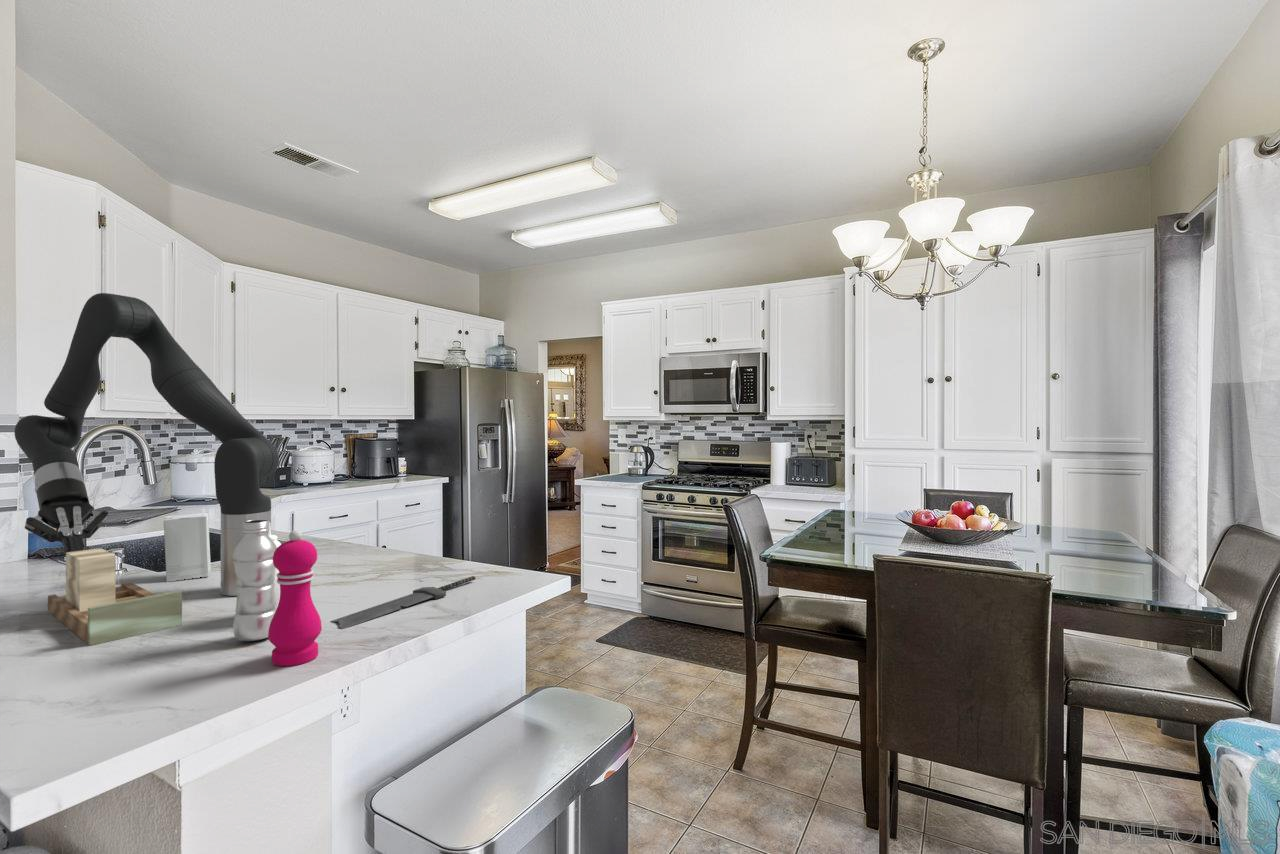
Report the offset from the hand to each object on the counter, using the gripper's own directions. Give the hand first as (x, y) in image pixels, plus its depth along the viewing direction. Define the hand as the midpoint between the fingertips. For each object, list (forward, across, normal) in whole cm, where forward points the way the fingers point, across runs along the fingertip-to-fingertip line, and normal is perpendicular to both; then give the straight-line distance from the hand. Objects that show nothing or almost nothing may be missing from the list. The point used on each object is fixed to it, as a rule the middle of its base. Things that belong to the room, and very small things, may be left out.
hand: (75, 553), depth 119 cm
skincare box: (+2, +21, +13) cm, 25 cm away
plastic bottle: (+42, +14, -28) cm, 52 cm away
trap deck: (+18, +2, -4) cm, 19 cm away
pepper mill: (+52, +14, -38) cm, 66 cm away
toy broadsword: (+44, +42, -28) cm, 67 cm away
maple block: (+14, 0, -3) cm, 14 cm away
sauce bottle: (+35, +20, -20) cm, 45 cm away
